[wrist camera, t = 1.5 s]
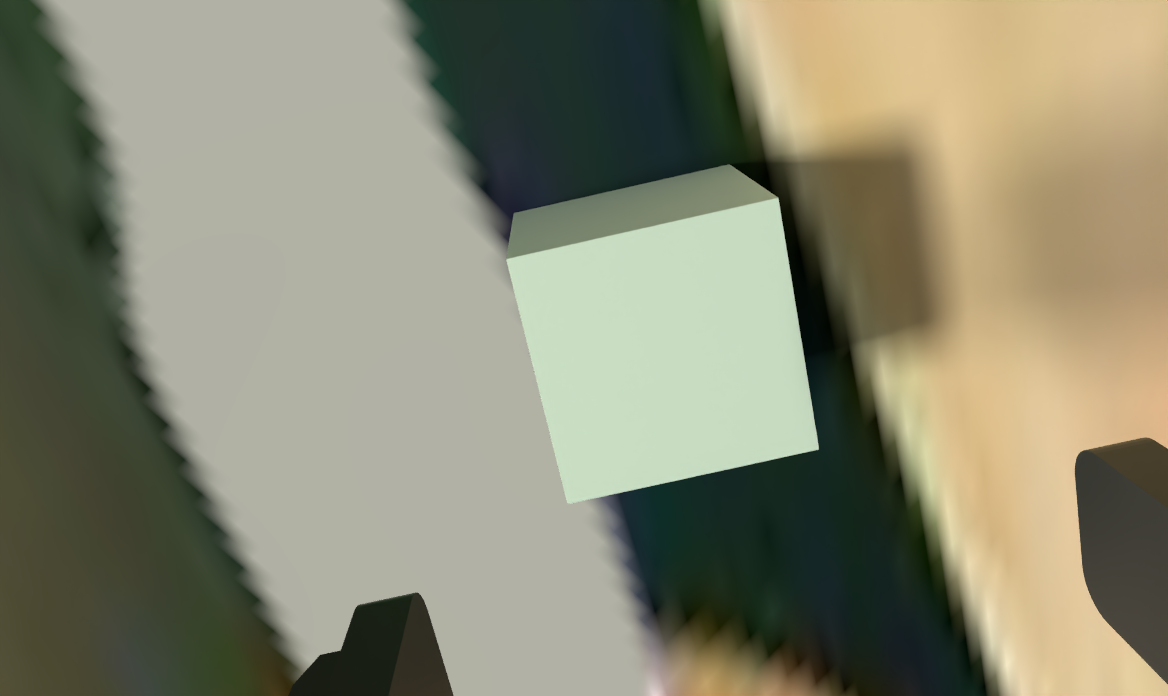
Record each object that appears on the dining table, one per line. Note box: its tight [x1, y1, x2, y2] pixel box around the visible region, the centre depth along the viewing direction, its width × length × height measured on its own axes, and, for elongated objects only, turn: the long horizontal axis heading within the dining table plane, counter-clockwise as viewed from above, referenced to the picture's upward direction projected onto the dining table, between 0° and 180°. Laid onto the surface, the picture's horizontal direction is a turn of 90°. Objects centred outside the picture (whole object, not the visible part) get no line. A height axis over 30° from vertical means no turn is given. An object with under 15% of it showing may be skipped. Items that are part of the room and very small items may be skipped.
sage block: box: [506, 164, 819, 504], centre depth 23 cm, size 6×6×6 cm
